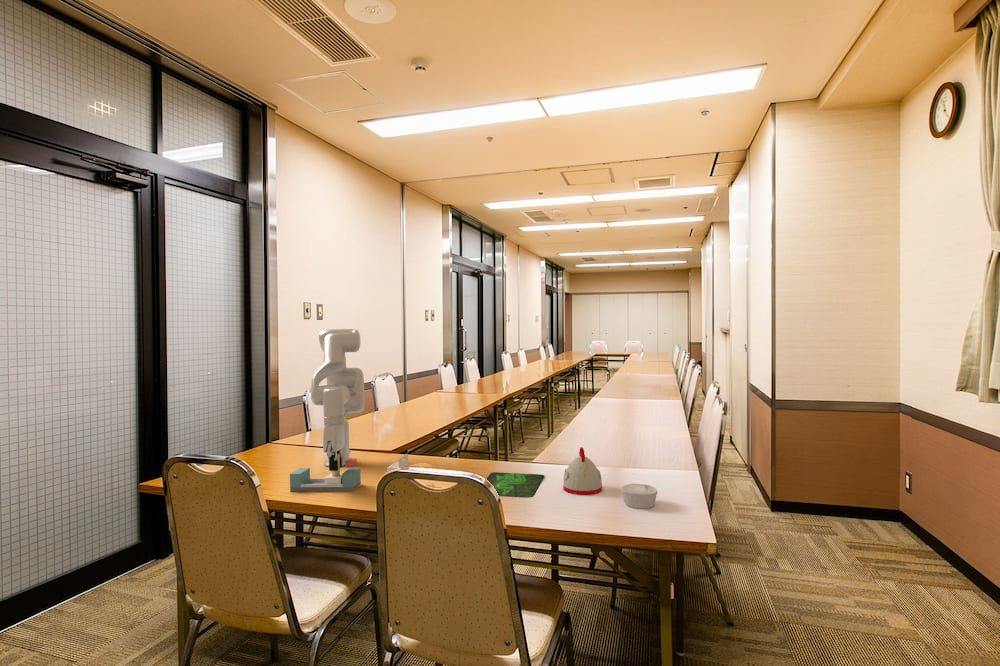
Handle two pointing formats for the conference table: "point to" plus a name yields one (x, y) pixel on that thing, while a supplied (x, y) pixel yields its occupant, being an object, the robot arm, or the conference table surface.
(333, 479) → the carriage
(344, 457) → the robot arm
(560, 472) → the conference table surface
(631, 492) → the ramekin
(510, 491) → the mouse mat
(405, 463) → the white angular piece
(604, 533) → the conference table surface
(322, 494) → the conference table surface
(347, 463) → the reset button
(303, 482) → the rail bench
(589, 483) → the kitchen timer
